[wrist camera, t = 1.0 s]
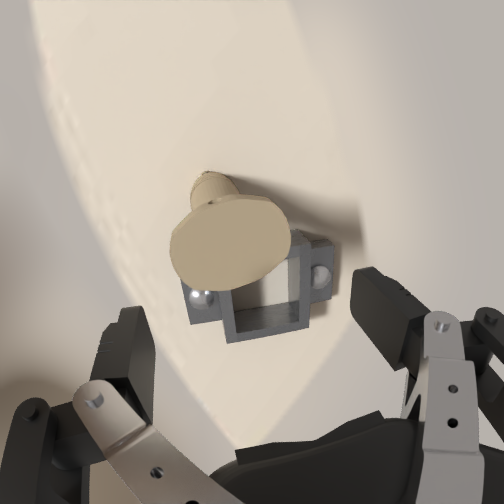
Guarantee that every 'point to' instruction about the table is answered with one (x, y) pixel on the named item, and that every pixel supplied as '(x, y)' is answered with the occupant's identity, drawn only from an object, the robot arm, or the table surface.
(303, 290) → the chain end
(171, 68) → the table surface
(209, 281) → the handle
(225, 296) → the bracket
